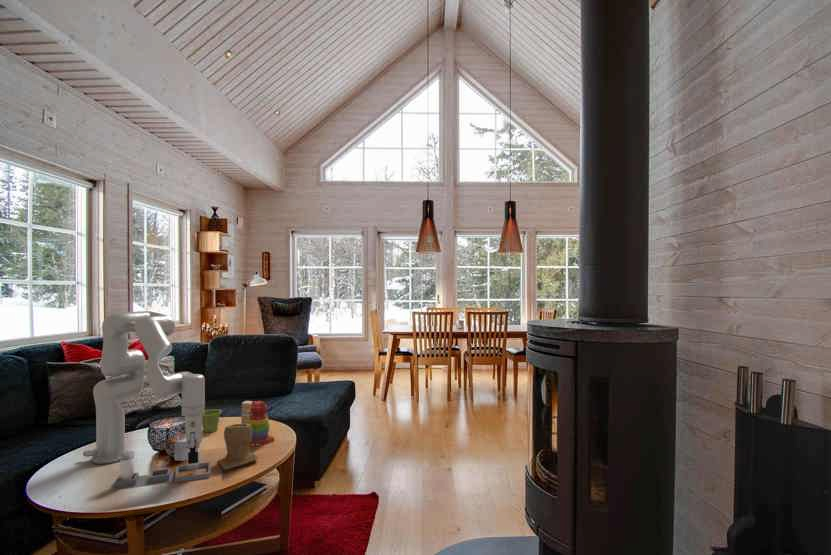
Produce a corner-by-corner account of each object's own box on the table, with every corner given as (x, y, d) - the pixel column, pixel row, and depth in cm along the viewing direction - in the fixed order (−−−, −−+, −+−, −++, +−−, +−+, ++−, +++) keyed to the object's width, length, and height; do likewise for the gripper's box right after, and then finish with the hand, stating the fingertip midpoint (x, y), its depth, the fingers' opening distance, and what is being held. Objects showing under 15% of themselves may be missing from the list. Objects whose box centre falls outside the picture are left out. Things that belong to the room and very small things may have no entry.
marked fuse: (186, 470, 167) (186, 442, 167) (187, 466, 170) (187, 439, 171) (199, 469, 168) (199, 441, 168) (199, 465, 172) (199, 437, 172)
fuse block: (110, 495, 156) (110, 484, 156) (116, 483, 165) (116, 473, 165) (171, 486, 162) (171, 476, 162) (174, 475, 172) (174, 465, 172)
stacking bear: (276, 440, 210) (276, 399, 210) (260, 447, 201) (260, 405, 201) (257, 436, 214) (257, 397, 214) (240, 443, 205) (240, 402, 205)
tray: (174, 486, 162) (174, 478, 162) (177, 474, 172) (177, 466, 172) (209, 481, 166) (209, 472, 166) (210, 469, 177) (210, 461, 177)
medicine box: (184, 465, 181) (184, 442, 181) (174, 464, 182) (174, 441, 182) (197, 457, 189) (197, 435, 189) (187, 456, 190) (187, 435, 190)
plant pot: (225, 430, 224) (225, 411, 224) (205, 435, 216) (205, 416, 216) (214, 426, 230) (214, 408, 230) (195, 431, 222) (195, 412, 222)
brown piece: (245, 454, 192) (245, 417, 192) (261, 462, 184) (262, 423, 184) (209, 466, 180) (209, 426, 180) (224, 474, 173) (225, 433, 173)
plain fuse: (119, 486, 159) (119, 456, 159) (121, 481, 163) (121, 452, 163) (132, 484, 161) (132, 454, 161) (134, 479, 164) (134, 450, 164)
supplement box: (240, 430, 223) (240, 402, 223) (246, 427, 227) (246, 400, 227) (257, 431, 221) (257, 403, 221) (262, 428, 226) (262, 401, 226)
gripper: (204, 414, 163) (204, 467, 163) (205, 402, 179) (205, 451, 179) (179, 416, 160) (179, 471, 160) (183, 405, 176) (183, 454, 176)
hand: (193, 460), depth 169 cm, fingers closed on marked fuse, 4 cm apart
